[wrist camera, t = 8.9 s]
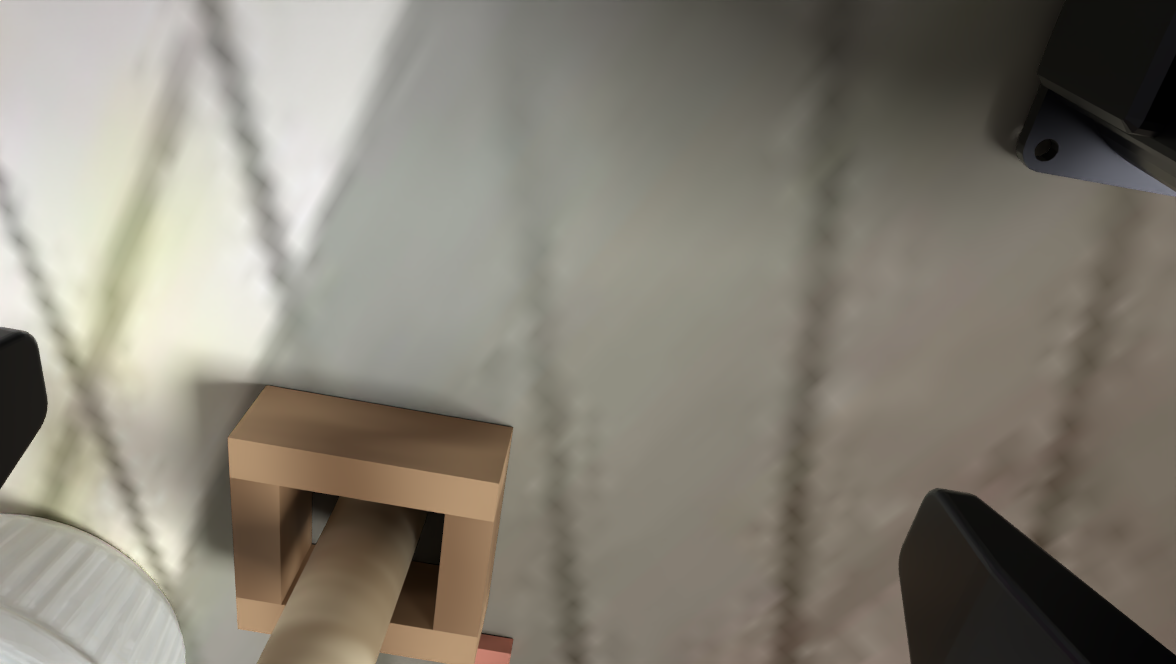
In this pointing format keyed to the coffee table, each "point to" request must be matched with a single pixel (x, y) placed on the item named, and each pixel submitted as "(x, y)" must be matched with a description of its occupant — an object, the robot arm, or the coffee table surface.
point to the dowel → (347, 586)
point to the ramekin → (78, 600)
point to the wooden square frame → (379, 474)
